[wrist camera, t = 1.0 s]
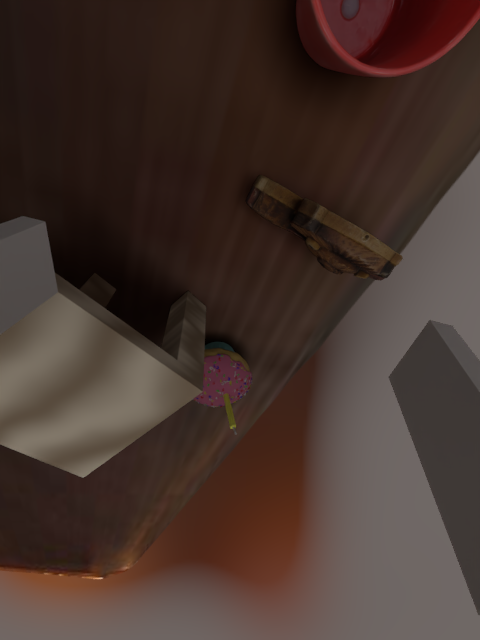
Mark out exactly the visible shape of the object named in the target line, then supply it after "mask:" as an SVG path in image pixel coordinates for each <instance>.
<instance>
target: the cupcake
mask: <svg viewBox="0 0 480 640" xmlns="http://www.w3.org/2000/svg"><path fill="white" fill-rule="evenodd" d="M251 383H252V373H251V372H250V371H249V367H248V364H247V362H246V361H245V360H244V359H243V358H242V357H241V356H240V355H239V354H238V353H235V352H234V350H233V348H232V347H231V346H230V345H228V344H226V343H224V342H212V343H209V344H207V345H205V350H204V375H203V392H202V393H200V394H199V395H198V396H196V397H195V398H193V399H194V400H195V401H198V403H202V404H204V405H208V406H212V407H222V406H224V405H225V406H226V411H227V415H228V420H229V424H230V428H231V429H233V430H234V433H235V434H237V433H236V430H235V428H236V424H235V419H234V415H233V411H232V407H231V403H235V402H236V400H238V399H241V398H242V396H243V395H244V394H245V395H246V392H248V391H249V388H250V385H251ZM193 399H192V400H193Z"/></svg>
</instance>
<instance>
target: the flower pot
mask: <svg viewBox="0 0 480 640" xmlns="http://www.w3.org/2000/svg"><path fill="white" fill-rule="evenodd" d="M479 18H480V0H296V20H297V28H298V32H299V36H300V39H301V42H302V44H303V47H304V48H305V50H306V52H307V53H308V55H309V56H310V57H311V58H312V59H313V60H314V61H315V62H316V63H317V64H319V65H320V66H322V67H324V68H326V69H329V70H333V71H337V72H342V73H346V74H353V75H358V76H364V77H376V78H388V77H397V76H402V75H406V74H409V73H412V72H415V71H417V70H420V69H422V68H424V67H426V66H428V65H430V64H431V63H433V62H435V61H436V60H438V59H439V58H441V57H442V56H443V55H445V54H446V53H447V52H448V51H449V50H451V49H452V48H453V47H454V46H455V45H456V44H457V43H458V42H459V41H460V40H461V39H462V38H463V37H464V36H465V35H466V34H467V33H468V32H469V31H470V30H471V28H472V27H473V26H474V25H475V24H476V22H477V21H478V20H479Z"/></svg>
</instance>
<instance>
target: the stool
mask: <svg viewBox="0 0 480 640" xmlns="http://www.w3.org/2000/svg"><path fill="white" fill-rule="evenodd" d="M55 278H56V283H57V289H58V293H56V294H55V295H54V296H52V297H51V298H50V299H48V300H47V301H45V302H44V303H43V304H41V305H40V306H39V307H37V308H36V309H35V310H33V311H32V312H30V313H29V314H28V315H26V316H25V317H24V318H22V319H21V320H20V321H18V322H17V323H16V324H14V325H13V326H11V327H10V328H9V329H7V330H6V331H5V332H3V333H2V334H1V335H0V444H1V445H3V446H6V447H8V448H11V449H13V450H16V451H18V452H21V453H23V454H26V455H28V456H30V457H33V458H35V459H38V460H40V461H43V462H45V463H48V464H50V465H53V466H55V467H58V468H60V469H63V470H65V471H68V472H70V473H73V474H75V475H78V476H80V477H83V478H84V477H85V476H86V475H88V474H89V473H91V472H92V471H93V470H95V469H96V468H98V467H99V466H100V465H102V464H103V463H104V462H106V461H107V460H109V459H110V458H111V457H113V456H114V455H116V454H117V453H118V452H120V451H121V450H123V449H124V448H125V447H127V446H128V445H129V444H131V443H132V442H134V441H135V440H136V439H138V438H139V437H141V436H142V435H143V434H145V433H146V432H148V431H149V430H150V429H152V428H153V427H155V426H156V425H157V424H159V423H160V422H161V421H163V420H164V419H166V418H167V417H168V416H170V415H171V414H173V413H174V412H175V411H177V410H178V409H180V408H181V407H182V406H184V405H185V404H186V403H188V402H189V401H191V400H192V399H193V398H195V397H196V396H198V395H199V394H200V393H202V392H203V375H204V350H205V324H206V306H205V305H204V304H203V303H202V302H200V301H199V300H198V299H197V298H196V297H195V296H194V295H192V294H191V293H190V292H189V291H187V292H186V293H185V294H184V295H183V296H182V297H181V298H179V299H178V300H177V301H176V302H175V303H174V304H173V305H172V306H171V308H170V312H169V316H168V321H167V325H166V329H165V333H164V337H163V342H162V346H161V348H160V347H158V346H157V345H155V344H154V343H153V342H151V341H150V340H148V339H147V338H146V337H144V336H143V335H141V334H140V333H139V332H137V331H136V330H134V329H133V328H132V327H130V326H129V325H128V324H126V323H125V322H123V321H122V320H121V319H119V318H118V317H116V316H115V315H114V314H112V313H111V312H109V311H108V310H107V309H105V307H106V306H107V304H108V303H109V301H110V299H111V298H112V296H113V294H114V293H115V291H116V289H115V288H114V287H113V286H111V285H110V284H109V283H107V282H106V281H105V280H104V279H102V278H101V277H100V276H98V275H97V274H96V273H94V274H93V275H92V276H91V277H90V278H89V279H88V280H87V281H86V282H85V283H84V284H83V286H82V287H81V288H80V289H77V288H76V287H74V286H73V285H72V284H70V283H69V282H67V281H66V280H65V279H63V278H62V277H61V276H59V275H58V274H56V273H55Z"/></svg>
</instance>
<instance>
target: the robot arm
mask: <svg viewBox="0 0 480 640" xmlns="http://www.w3.org/2000/svg"><path fill="white" fill-rule="evenodd" d="M56 293H58V289H57V283H56V278H55V272H54V267H53V261H52V256H51V250H50V244H49V239H48V233H47V228H46V222H45V221H41V220H37V219H33V218H29V217H25V216H21V217H19V218H16V219H13V220H10V221H7V222H4V223H2V224H0V335H1V334H2V333H3V332H5V331H6V330H7V329H9V328H10V327H11V326H13V325H14V324H16V323H17V322H18V321H20V320H21V319H22V318H24V317H25V316H26V315H28V314H29V313H30V312H32V311H33V310H35V309H36V308H37V307H39V306H40V305H41V304H43V303H44V302H45V301H47V300H48V299H50V298H51V297H52V296H54V295H55V294H56ZM389 379H390V382H391V385H392V387H393V390H394V392H395V395H396V397H397V400H398V403H399V405H400V408H401V411H402V414H403V416H404V419H405V422H406V424H407V427H408V430H409V432H410V435H411V437H412V440H413V443H414V445H415V448H416V451H417V453H418V456H419V458H420V461H421V464H422V467H423V469H424V472H425V474H426V477H427V480H428V482H429V485H430V488H431V490H432V493H433V496H434V498H435V501H436V504H437V506H438V509H439V512H440V514H441V517H442V520H443V522H444V525H445V528H446V530H447V533H448V535H449V538H450V541H451V543H452V546H453V548H454V551H455V554H456V557H457V559H458V562H459V565H460V567H461V570H462V573H463V575H464V577H465V580H466V583H467V586H468V588H469V591H470V594H471V596H472V599H473V601H474V604H475V607H476V609H477V612H478V615H480V361H479V359H478V358H477V357H476V356H475V354H474V353H473V352H472V350H471V349H470V348H469V347H468V345H467V344H466V343H465V342H464V340H463V339H462V338H461V337H460V335H459V334H458V333H457V331H456V330H455V329H454V328H453V326H451V325H447V324H443V323H439V322H435V321H431V320H430V321H429V322H428V323H427V325H426V326H425V328H424V329H423V330H422V332H421V333H420V334H419V336H418V337H417V338H416V340H415V341H414V343H413V344H412V345H411V347H410V348H409V350H408V351H407V352H406V354H405V355H404V356H403V358H402V359H401V361H400V362H399V364H398V365H397V366H396V368H395V369H394V370H393V372H392V373H391V374H390V376H389Z"/></svg>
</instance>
